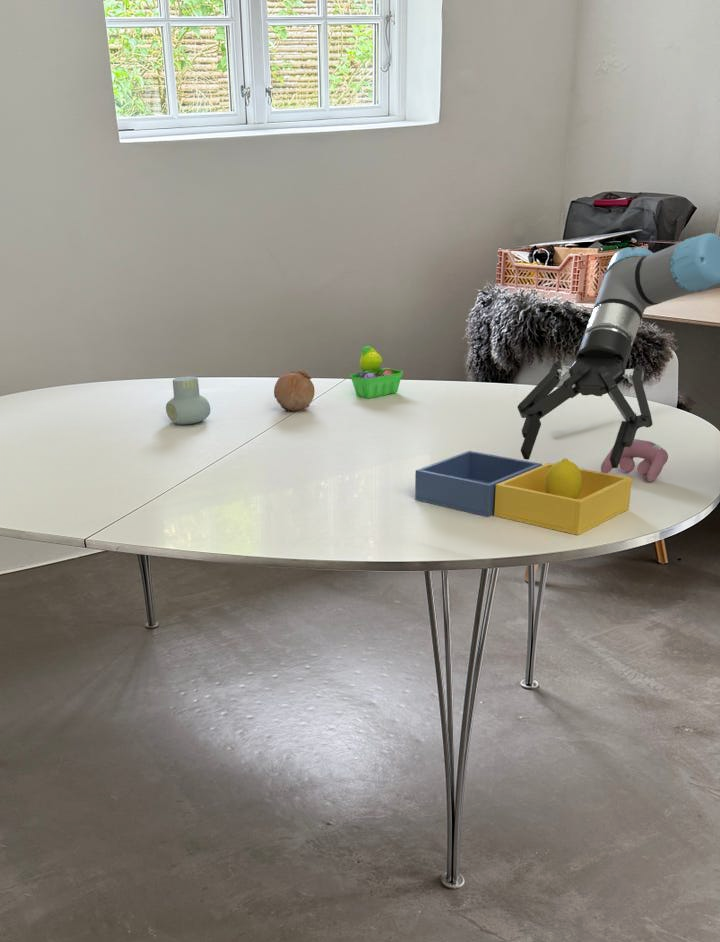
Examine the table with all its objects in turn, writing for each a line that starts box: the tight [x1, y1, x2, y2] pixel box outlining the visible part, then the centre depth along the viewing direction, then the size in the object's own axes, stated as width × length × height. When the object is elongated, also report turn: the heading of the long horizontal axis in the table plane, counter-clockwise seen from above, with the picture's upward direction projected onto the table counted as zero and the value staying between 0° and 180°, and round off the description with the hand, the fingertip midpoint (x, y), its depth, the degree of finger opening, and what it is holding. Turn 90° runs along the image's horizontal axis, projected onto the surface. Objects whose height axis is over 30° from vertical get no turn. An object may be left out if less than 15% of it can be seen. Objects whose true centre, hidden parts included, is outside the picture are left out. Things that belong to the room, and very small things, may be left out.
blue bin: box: [414, 450, 543, 517], centre depth 157 cm, size 15×15×5 cm
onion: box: [273, 369, 316, 412], centre depth 224 cm, size 10×9×10 cm
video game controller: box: [600, 438, 669, 483], centre depth 162 cm, size 10×5×7 cm, turn 41°
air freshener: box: [165, 375, 211, 426], centre depth 220 cm, size 11×8×10 cm
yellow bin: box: [493, 462, 633, 536], centre depth 147 cm, size 15×15×5 cm
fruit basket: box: [349, 345, 404, 399], centre depth 233 cm, size 11×9×11 cm
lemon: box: [544, 458, 582, 499], centre depth 147 cm, size 6×6×8 cm
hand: (567, 459), depth 145 cm, fingers open, 13 cm apart
